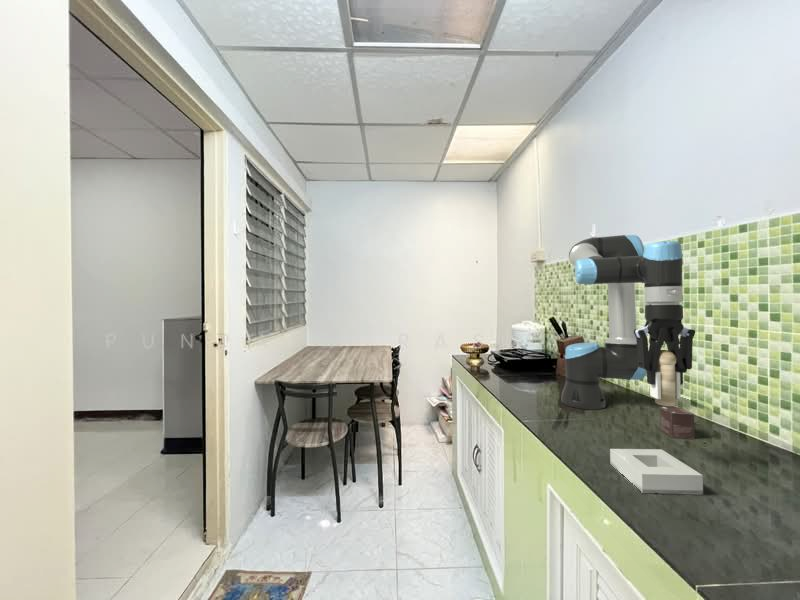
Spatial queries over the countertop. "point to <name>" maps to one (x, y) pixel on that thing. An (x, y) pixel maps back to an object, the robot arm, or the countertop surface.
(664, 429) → the box
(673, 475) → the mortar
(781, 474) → the countertop surface
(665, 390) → the pestle
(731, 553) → the countertop surface
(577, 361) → the robot arm
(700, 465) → the countertop surface
